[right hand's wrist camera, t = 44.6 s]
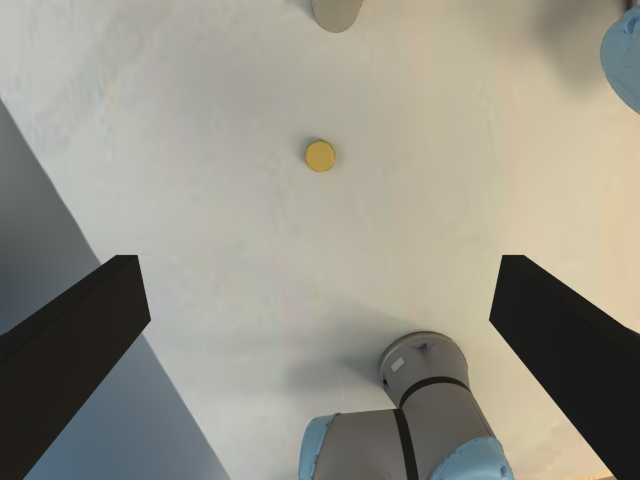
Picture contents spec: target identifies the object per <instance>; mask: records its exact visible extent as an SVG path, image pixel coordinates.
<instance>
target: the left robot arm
mask: <svg viewBox="0 0 640 480" xmlns="http://www.w3.org/2000/svg"><path fill="white" fill-rule="evenodd" d="M601 63H602V67H603V70H604V72H605V74H606V78H607V80H608V82H609V84H610V85H611V87H612V88H613V90H614V91H615V92H616V94H617V95H618V96H619V97H620V98H621V99H622V100H623V101H624V102H625V103H626V104H627V105H628V106H629V107H630V108H631V109H633V110H634V111H635V112H637V113H638V114H640V0H627V12H625V13H624V15H623V17H622V18H621V19H619V20H618V21H617V22H615V23H614V24H613V25H612V26H611V27H610V28H609V29H608V31H607V32H606V34H605V36H604V38H603V41H602V45H601Z"/></svg>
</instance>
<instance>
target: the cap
mask: <svg viewBox="0 0 640 480" xmlns="http://www.w3.org/2000/svg"><path fill="white" fill-rule="evenodd" d="M305 159H306V163H307V165H308V166H309V167H310V168H311V169H312V170H313V171H316V172H325V171H327V170H329V169H330V168H331V167H332V165H333V164H334V161H335V152H334V149H333V148H332V146H330V144H328V143H327V142H324V141H317V142H314V143H311V145H309V147H308V148H307V151H306V154H305Z"/></svg>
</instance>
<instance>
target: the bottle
mask: <svg viewBox="0 0 640 480" xmlns="http://www.w3.org/2000/svg"><path fill="white" fill-rule="evenodd" d="M362 2H363V0H312V8H313V14H314V17H315V19H316V21H317V23H318V24H319V25H320V26H321V27H322V28H323V29H325V30H326V31H329V32H333V33H338V32H342V31H345V30H346V29H348V28H349V27H350V26H351V25H352V24H353V23H354V21H355V20H356V18H357V15H358V13H359V10H360V7H361V5H362Z"/></svg>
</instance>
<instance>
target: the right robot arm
mask: <svg viewBox="0 0 640 480" xmlns="http://www.w3.org/2000/svg"><path fill="white" fill-rule="evenodd" d="M150 321H151V317H150V313H149V308H148V303H147V298H146V293H145V289H144V284H143V279H142V274H141V269H140V265H139V260H138V255H115V256H114V257H113V258H111V259H110V260H108V261H107V262H106V263H104V264H103V265H101V266H100V267H99V268H97V269H96V270H94V271H93V272H92V273H90V274H89V275H87V276H86V277H85V278H83V279H82V280H80V281H79V282H77V283H76V284H75V285H73V286H72V287H70V288H69V289H68V290H66V291H65V292H63V293H62V294H61V295H59V296H58V297H56V298H55V299H54V300H52V301H51V302H49V303H48V304H46V305H45V306H44V307H42V308H41V309H39V310H38V311H37V312H35V313H34V314H32V315H31V316H30V317H28V318H27V319H25V320H24V321H23V322H21V323H20V324H18V325H17V326H15V327H14V328H13V329H11V330H10V331H8V332H6V333H4V334H2V335H0V480H23V479H24V477H25V476H26V475H27V474H28V472H29V471H30V470H31V469H32V467H33V466H34V465H35V464H36V463H37V461H38V460H39V459H40V458H41V456H42V455H43V454H44V453H45V451H46V450H47V449H48V448H49V446H50V445H51V444H52V443H53V441H54V440H55V439H56V438H57V436H58V435H59V434H60V433H61V431H62V430H63V429H64V428H65V426H66V425H67V424H68V423H69V422H70V420H71V419H72V418H73V417H74V415H75V414H76V413H77V411H78V410H79V409H80V408H81V407H82V405H83V404H84V403H85V402H86V400H87V399H88V398H89V397H90V395H91V394H92V393H93V392H94V390H95V389H96V388H97V387H98V385H99V384H100V383H101V382H102V380H103V379H104V378H105V377H106V375H107V374H108V373H109V372H110V371H111V369H112V368H113V367H114V366H115V364H116V363H117V362H118V361H119V359H120V358H121V357H122V356H123V354H124V353H125V352H126V351H127V349H128V348H129V347H130V346H131V344H132V343H133V342H134V341H135V340H136V338H137V337H138V336H139V335H140V333H141V332H142V331H143V330H144V328H145V327H146V326H147V325H148V323H149V322H150ZM489 321H490V322H491V323H492V325H493V326H494V327H495V328H496V330H497V331H498V332H499V333H500V335H501V336H502V337H503V338H504V340H505V341H506V342H507V343H508V345H509V346H510V347H511V348H512V349H513V351H514V352H515V353H516V354H517V356H518V357H519V358H520V359H521V361H522V362H523V363H524V364H525V366H526V367H527V368H528V369H529V371H530V372H531V373H532V374H533V376H534V377H535V378H536V379H537V381H538V382H539V383H540V384H541V385H542V387H543V388H544V389H545V390H546V392H547V393H548V394H549V395H550V397H551V398H552V399H553V400H554V402H555V403H556V404H557V405H558V407H559V408H560V409H561V410H562V412H563V413H564V414H565V415H566V417H567V418H568V419H569V420H570V422H571V423H572V424H573V425H574V426H575V428H576V429H577V430H578V431H579V433H580V434H581V435H582V436H583V438H584V439H585V440H586V441H587V443H588V444H589V445H590V446H591V448H592V449H593V450H594V451H595V453H596V454H597V455H598V456H599V458H600V459H601V460H602V461H603V463H604V464H605V465H606V466H607V467H608V469H609V470H610V471H611V472H612V474H613V475H614V476H615V477H616V479H617V480H640V334H639V333H637V332H635V331H633V330H631V329H629V328H626V327H625V326H623V325H622V324H620V323H619V322H617V321H616V320H615V319H613V318H612V317H610V316H609V315H608V314H606V313H605V312H603V311H602V310H601V309H599V308H598V307H596V306H595V305H594V304H592V303H591V302H589V301H588V300H586V299H585V298H584V297H582V296H581V295H579V294H578V293H577V292H575V291H574V290H572V289H571V288H570V287H568V286H567V285H565V284H564V283H563V282H561V281H560V280H558V279H557V278H556V277H554V276H553V275H551V274H550V273H548V272H547V271H546V270H544V269H543V268H541V267H540V266H539V265H537V264H536V263H534V262H533V261H532V260H530V259H529V258H527V257H526V256H525V255H502V260H501V265H500V269H499V274H498V279H497V284H496V289H495V293H494V298H493V303H492V308H491V313H490V317H489ZM379 376H380V380H381V384H382V387H383V389H384V391H385V392H386V394H387V395H388V396H389V398H390V399H391V401H392V402H393V403H394V405H395V406H396V408H397V409H387V410H377V411H367V412H356V413H346V414H341V413H335V414H333V415H329V416H322V417H317V418H315V419H313V420H312V421H311V422H310V423H309V425H308V426H307V428H306V430H305V433H304V437H303V441H302V446H301V453H300V462H299V480H514V477H513V473H512V470H511V467H510V465H509V463H508V461H507V459H506V457H505V455H504V451H503V448H502V445H501V444H500V442H499V440H498V439H497V438H496V436H495V435H494V433H493V431H492V429H491V427H490V425H489V424H488V422H487V420H486V418H485V416H484V415H483V413H482V411H481V409H480V407H479V405H478V404H477V402H476V400H475V398H474V397H473V395H472V393H471V391H470V386H469V378H468V368H467V362H466V359H465V357H464V355H463V353H462V352H461V350H460V348H459V347H458V346H457V344H456V343H455V342H454V341H452V340H451V339H449V338H448V337H446V336H444V335H441V334H437V333H432V332H420V333H414V334H410V335H407V336H404V337H402V338H400V339H398V340H397V341H395V342H394V343H393V344H391V345H390V346H389V347H388V348H387V350H386V351H385V352H384V354H383V355H382V357H381V360H380V363H379Z"/></svg>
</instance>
